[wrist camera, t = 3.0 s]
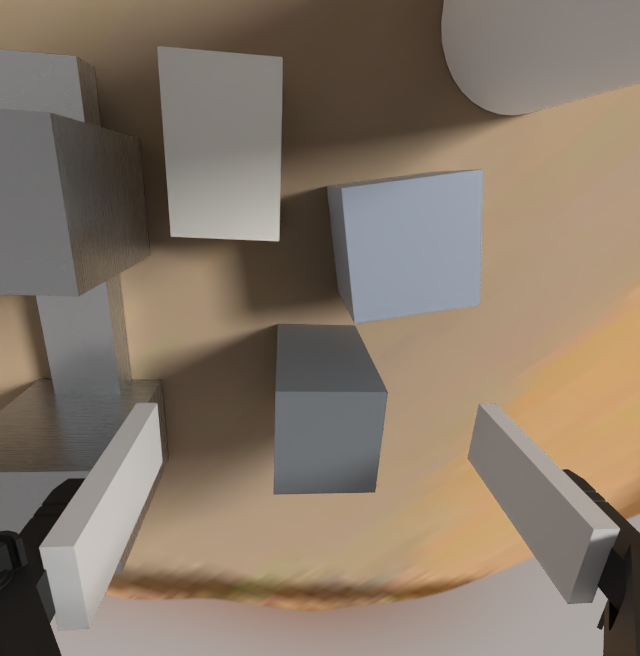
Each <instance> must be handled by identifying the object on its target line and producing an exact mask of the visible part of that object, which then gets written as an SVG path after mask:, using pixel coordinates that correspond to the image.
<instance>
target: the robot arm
mask: <svg viewBox="0 0 640 656" xmlns="http://www.w3.org/2000/svg"><path fill="white" fill-rule="evenodd" d="M468 459H469V461H470V462H471V464H472V465H473V467H474V468H475V470H476V471H477V473H478V474H479V476H480V477H481V478H482V480H483V481H484V483H485V484H486V486H487V487H488V489H489V490H490V492H491V493H492V494H493V496H494V497H495V499H496V500H497V502H498V503H499V505H500V506H501V508H502V509H503V510H504V512H505V513H506V515H507V516H508V518H509V519H510V521H511V522H512V524H513V525H514V526H515V528H516V529H517V531H518V532H519V534H520V535H521V537H522V538H523V540H524V541H525V543H526V544H527V545H528V547H529V548H530V550H531V551H532V553H533V554H534V556H535V557H536V559H537V560H538V561H539V563H540V564H541V566H542V567H543V569H544V570H545V572H546V573H547V575H548V576H549V577H550V579H551V580H552V582H553V583H554V585H555V586H556V588H557V589H558V591H559V592H560V594H561V595H562V596H563V598H564V599H565V601H566V602H567V604H574V603H592V602H593V599H594V596H595V594H596V591H597V588H598V587H599V588H600V589H601V591H602V592H603V593H604V594H605V596H606V597H607V598H608V601H607V603H606V606H605V609H604V611H603V613H602V616H601V618H600V621H599V624H598V626H597V628H599V629H602V628H603V626H604V650H603V653H604V655H603V656H640V533H639V532H638V531H637V530H636V529H635V528H634V527H633V526H632V525H631V524H630V523H629V522H628V521H627V520H626V519H625V518H624V517H623V516H621V515H620V514H619V513H618V512H617V511H616V510H615V509H614V508H613V507H612V506H611V505H610V504H609V503H608V502H606V501H605V499H604V498H603V497H602V496H601V495H600V494H599V493H596V490H595V489H593V488H592V487H591V486H590V485H589V484H588V483H587V482H586V481H585V480H584V479H583V478H581V477H580V476H578V475H576V474H575V473H573V472H572V471H570V470H568V469H565V470H562V469H561V468H560V467H559V466H558V465H557V464H556V463H555V462H554V461H553V460H552V459H551V458H550V457H549V456H548V455H547V454H546V453H545V452H544V451H543V450H542V449H541V448H540V447H539V446H538V445H537V444H536V443H535V442H534V441H533V440H532V439H531V438H530V437H529V436H528V435H527V434H526V433H525V432H524V431H523V430H522V429H521V428H520V427H519V426H518V425H517V424H516V423H515V422H514V421H513V420H512V419H511V418H510V417H509V416H508V415H507V414H506V413H505V412H504V411H503V410H502V409H501V408H500V407H499V406H498V405H497V404H479V406H478V411H477V415H476V420H475V425H474V430H473V435H472V440H471V445H470V449H469V454H468ZM162 462H163V461H162V450H161V439H160V428H159V416H158V405H157V403H136V405H135V406H134V408H133V409H132V411H131V412H130V414H129V415H128V417H127V418H126V420H125V421H124V423H123V424H122V426H121V427H120V429H119V430H118V431H117V433H116V434H115V436H114V437H113V439H112V440H111V442H110V443H109V445H108V446H107V448H106V449H105V451H104V452H103V454H102V455H101V457H100V458H99V460H98V461H97V463H96V464H95V465H94V467H93V468H92V470H91V471H90V473H89V474H88V476H87V477H86V478H68V479H67V480H65V481H64V482H63V483H61V484H60V485H59V486H57V487H56V488H55V489H53V490H52V491H51V493H50V494H49V495H48V497H47V498H46V499H45V500H44V502H43V503H42V506H41V507H39V508H38V510H37V511H36V512H35V514H34V515H33V518H31V519H30V520H29V521H28V523H27V524H26V525H25V527H24V528H23V529H22V531H21V532H20V533H19V534H18V533H17V532H13V531H9V530H6V531H0V656H61V653H60V650H59V647H58V645H57V642H56V639H55V637H54V634H53V631H52V628H51V625H50V622H51V620H52V619H53V616H54V615H55V619H56V623H57V628H58V631H59V630H78V629H90V627H91V625H92V623H93V620H94V618H95V616H96V613H97V611H98V609H99V606H100V604H101V602H102V600H103V597H104V595H105V593H106V591H107V588H108V586H109V584H110V581H111V579H112V577H113V575H114V572H115V570H116V568H117V565H118V563H119V561H120V559H121V556H122V554H123V552H124V549H125V547H126V545H127V542H128V540H129V538H130V536H131V533H132V531H133V529H134V526H135V524H136V522H137V520H138V517H139V515H140V513H141V510H142V508H143V506H144V504H145V501H146V499H147V497H148V494H149V492H150V490H151V487H152V485H153V483H154V481H155V478H156V476H157V474H158V471H159V469H160V467H161V465H162Z"/></svg>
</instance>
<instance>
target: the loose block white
mask: <svg viewBox="0 0 640 656" xmlns="http://www.w3.org/2000/svg"><path fill="white" fill-rule="evenodd" d="M157 53H158V67H159V81H160V94H161V108H162V122H163V136H164V150H165V164H166V177H167V191H168V205H169V219H170V233H171V237H188V238H212V239H236V240H259V241H279V235H280V191H281V140H282V89H283V57H276V56H265V55H253V54H242V53H231V52H220V51H208V50H197V49H186V48H175V47H163V46H157Z"/></svg>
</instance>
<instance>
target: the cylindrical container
mask: <svg viewBox="0 0 640 656" xmlns="http://www.w3.org/2000/svg"><path fill="white" fill-rule="evenodd" d="M441 30H442V46H443V50H444V54H445V59H446V63H447V66H448V68H449V70H450V73H451V75H452V77H453V79H454V81H455V82H456V84H457V85H458V87H459V88H460V90H461V91H462V92H463V93H464V94H465V95H466V96H467V97H468V98H469V99H470V100H471V101H472V102H473V103H475V104H476V105H478V106H480V107H481V108H483V109H485V110H487V111H490V112H493V113H497V114H500V115H521V114H527V113H532V112H536V111H539V110H543V109H547V108H550V107H554V106H558V105H561V104H565V103H569V102H572V101H576V100H580V99H583V98H587V97H591V96H595V95H598V94H602V93H606V92H609V91H613V90H617V89H620V88H624V87H628V86H631V85H635V84H639V83H640V0H444V4H443V13H442V21H441Z"/></svg>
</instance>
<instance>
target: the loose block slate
mask: <svg viewBox="0 0 640 656" xmlns="http://www.w3.org/2000/svg"><path fill="white" fill-rule="evenodd" d="M482 189H483V169H480V170H460V171H440V172H428V173H421V174H413V175H405V176H398V177H390V178H383V179H375V180H368V181H360V182H353V183H345V184H337V185H330V186H327V194H328V203H329V212H330V221H331V230H332V239H333V248H334V258H335V267H336V276H337V285H338V291H339V293H340V295H341V297H342V299H343V301H344V303H345V305H346V307H347V309H348V311H349V313H350V315H351V317H352V319H353V321H354V323H362V322H369V321H375V320H382V319H389V318H396V317H403V316H410V315H416V314H423V313H430V312H437V311H444V310H451V309H457V308H464V307H471V306H478V305H480V282H481V235H482Z"/></svg>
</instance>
